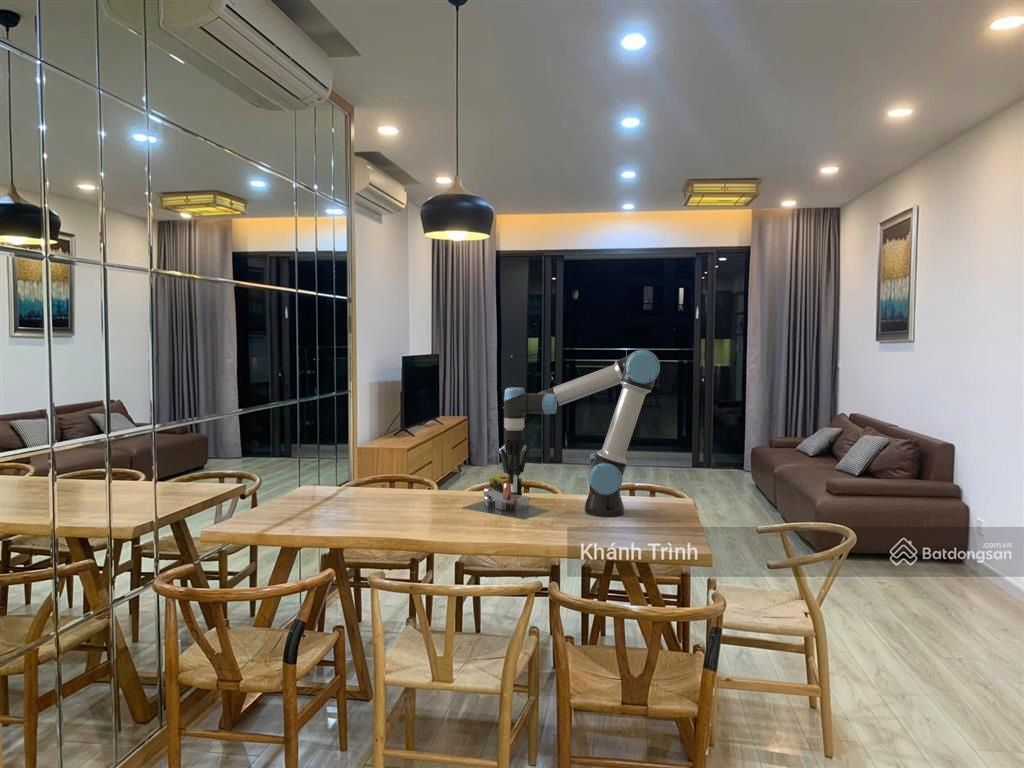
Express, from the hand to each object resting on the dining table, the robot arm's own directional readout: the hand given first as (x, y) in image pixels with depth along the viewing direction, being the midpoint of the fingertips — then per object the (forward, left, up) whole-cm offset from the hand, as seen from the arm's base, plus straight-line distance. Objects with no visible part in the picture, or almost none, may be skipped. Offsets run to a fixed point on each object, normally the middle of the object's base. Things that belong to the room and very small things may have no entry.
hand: (513, 491), depth 248 cm
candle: (+18, -20, -10) cm, 29 cm away
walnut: (+6, -7, -8) cm, 12 cm away
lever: (+8, -1, -8) cm, 11 cm away
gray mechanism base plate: (+6, -3, -10) cm, 12 cm away
